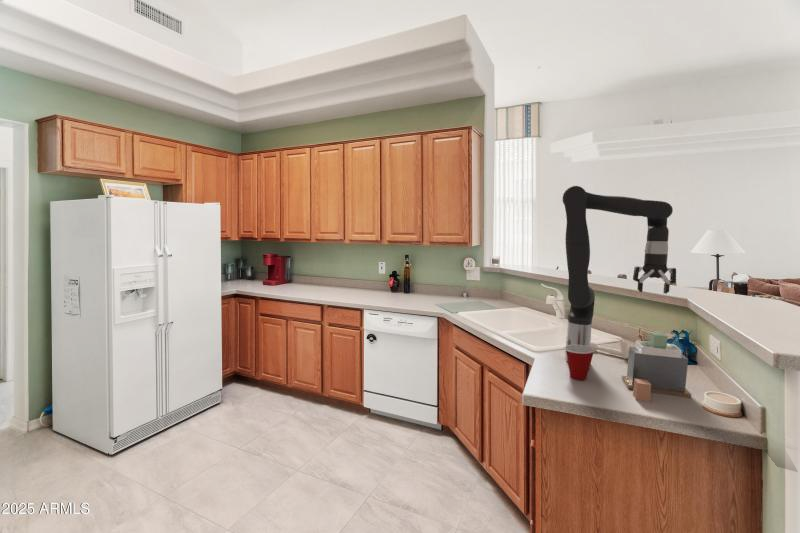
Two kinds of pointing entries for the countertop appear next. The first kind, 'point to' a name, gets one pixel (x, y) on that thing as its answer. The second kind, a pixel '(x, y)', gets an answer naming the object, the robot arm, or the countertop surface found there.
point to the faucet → (623, 352)
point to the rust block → (642, 390)
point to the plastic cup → (579, 360)
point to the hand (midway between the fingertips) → (652, 292)
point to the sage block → (658, 340)
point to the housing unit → (658, 368)
